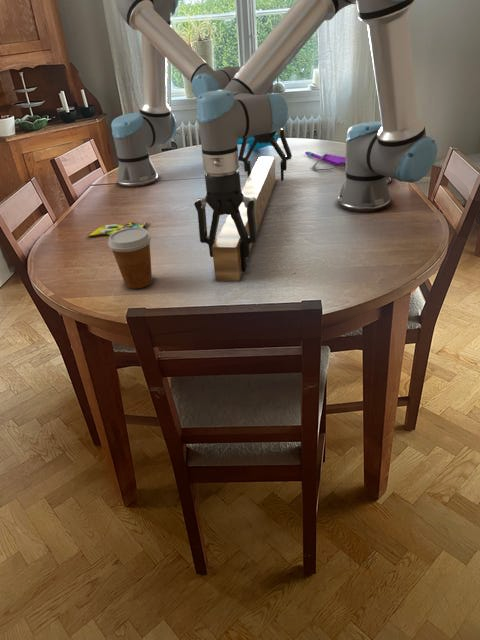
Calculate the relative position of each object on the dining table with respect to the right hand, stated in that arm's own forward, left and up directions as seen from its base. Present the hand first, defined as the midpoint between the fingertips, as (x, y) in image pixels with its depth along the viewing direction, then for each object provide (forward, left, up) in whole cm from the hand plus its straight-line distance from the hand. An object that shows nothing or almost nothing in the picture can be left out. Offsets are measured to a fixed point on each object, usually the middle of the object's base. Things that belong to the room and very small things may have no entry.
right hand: (231, 268), depth 115 cm
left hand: (-52, -38, +1) cm, 65 cm away
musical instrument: (-84, -38, -1) cm, 92 cm away
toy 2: (-82, -78, -1) cm, 114 cm away
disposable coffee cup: (+18, -13, -1) cm, 22 cm away
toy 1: (+3, -46, -1) cm, 46 cm away
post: (-26, -19, -1) cm, 32 cm away
